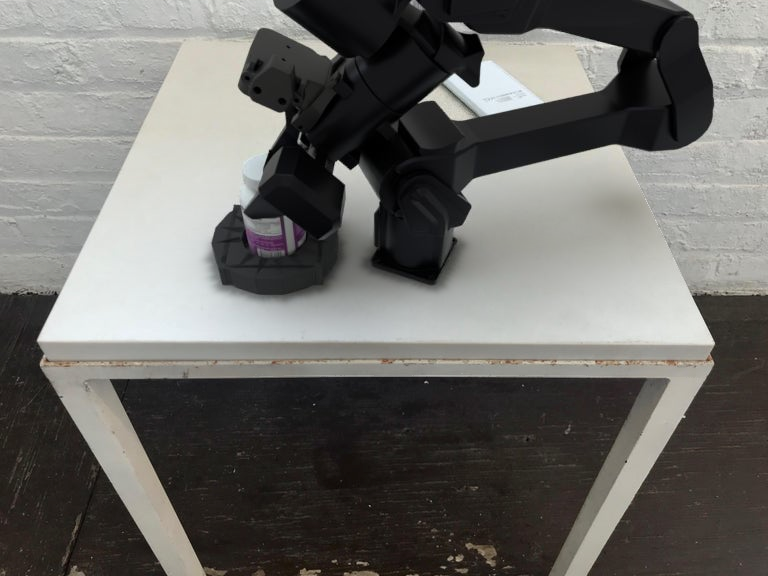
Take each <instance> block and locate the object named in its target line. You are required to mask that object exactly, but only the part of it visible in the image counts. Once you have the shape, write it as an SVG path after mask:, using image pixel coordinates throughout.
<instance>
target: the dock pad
mask: <svg viewBox="0 0 768 576" xmlns="http://www.w3.org/2000/svg"><path fill="white" fill-rule="evenodd" d="M338 230H339V229H338ZM338 230H336V231H335V232H334V233H332V234H331V235H330V236H328V237H327V238H326V239H324V240H317V239H315V238H314V237H313V236H311V235H310V234H309V233H307V232H306V243H305V244H304V245H303V247H302V248H300V249H299V250H297V251H296V252H294V253H292V254H290V255H286V256H283V257H262V256H258V255H255V254H253V253H251V252H250V249H248V248H247V246H249V243H248V239H247V234H246V229H245V224H244V219H243V215H242V209H241V205H240V204H233V207H232V210H231V211H229V212H228V213H227V214H226V215H225V216H224V217H223V219H222V220H221V221H219V223H218V224H217V225H216V226H215V228H214V232H213V235H212V239H211V243H210V244H211V247H212V252H213V256H214V260H215V263H216V266H217V270H218V273H219V278H220V281H221V285H232V286H234V287H235V288H237V289H241V290H243V291H247V292H250V293H253V294H256V295H285V294H289V293H293V292H296V291H300V290H304V289H306V288H309V287H311V286H312V285H314V286H315V285H317V286H319V285H320V286H321V285H322V286H323V284H324V283H323V282H324V277H326V276H327V275H328V274H329V272H330V271H331V269H332V268H333V266H334V265H335V263H336V261H337V260H338V254H339V253H338V251H339V233H338V232H339V231H338Z"/></svg>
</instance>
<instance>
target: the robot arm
mask: <svg viewBox="0 0 768 576" xmlns="http://www.w3.org/2000/svg"><path fill="white" fill-rule="evenodd" d="M411 1H412V0H272V3H273V6H274V7H275V8H276V9H277V10H279V11H280V12H281V13H282V14H284V15H285V16H287V18H289V19H290V20H292V21H293V22H295V23H296V24H298V25H299V26H300V27H302V28H303V29H304V30H305V31H307V32H308V33H309V34H311V35H312V36H314V37H315V38H316V39H318V40H319V41H320V42H322V43H323V44H325V45H326V46H327V47H328V48H330V49H331V50H333V51H334V52H335V53H337V54H336V55H335V56H333V57H332V58H331V59H330V58H329V57H328V56H327V55H323V54H320V53H317V51H315V50H314V49H313V48H311V47H309V46H307V45H305V44H303V43H301V42H299V41H297V40H295V39H293V38H291V37H288V36H286V35H285V34H282V33H280V32H278V31H276V30H274V29H271V28H268V27H260V28H259V29H258V30H257V32H256V34H255V36H254V38H253V40H252V43H251V45H250V47H249V50H248V53H247V55H246V58H245V61H244V64H243V67H242V71H241V73H240V76H239V79H238V82H237V88H238V90H239V91H240V92H241V93H242V95H245V96H247V97H248V98H249V99H250V100H251V102H253V103H255V104H257V105H260V106H262V107H264V108H266V109H269V110H271V111H274V112H276V113H278V114H282V113H284V117H285V124H284V126H283V128H282V130H281V131H280V133H279V134H278V136H277V137H276V139H275V141H274V142H273V144H272V145H271V147H270V148H269V149H268V152H267V153H268V155H267V158H266V161H265V164H264V167H263V174H262V177H261V180H260V183H259V186H258V191H257V192H256V194H255V195H254V196H253V198H252V199H251V200H250V202H249V203H248V205H247V206H246V207H245V209H244V212H243V213H244V214H245V215H246V216H248V217H249V218H250V219H252V220H256V219H264V218H271V217H279V216H286V217H287V218H289V219H290V220H291V221H293V222H294V223H295V224H297V225H298V226H299V227H301V228H302V229H303V230H305V231H306V232H307V233H309V234H310V235H311V236H313V237H314V238H315V239H317V240H324V239H326V238H327V237H328V236H330V235H331V234H332V233H334V232H335V231H336V230H339V229H341V228H342V223H343V219H344V218H343V217H344V213H345V206H346V199H347V198H346V197H347V195H346V191H347V190H346V184H345V183H344V182H343V181H341V179H339V178H338V177H337V176H335V174H334V171H335V166H336V163H337V162H338V161H339V162H340V164H342V165H343V166H344V167H345V168H347V169H348V170H349V171H351V172H352V170H353V169H354V168H356V167H357V166H358V168H359V169H360V171H361V172H362V173H363V175H364V177H365V178H366V180H367V182H368V184H369V185H370V187H371V188H372V191H373V192H374V194H375V195H376V197H377V198H378V200H379V202H378V207H377V208H376V209H375V211H374V212H373V246H374V248H377V249H376V250H375V252H374V253H373V254H372V256H371V258H370V264H371V265H372V266H373V267H375V268H379V269H382V270H385V271H388V272H392V273H394V274H398V275H400V276H404V277H408V278H410V279H414V280H416V281H420V282H423V283H426V284H429V285H435V284H436V283H437V282H438V281H439V279H440V277H441V275H442V273H443V272H444V269H445V267H446V266H447V264H448V261H449V260H450V258H451V256H452V254H453V252H454V250H455V249H456V247H457V245H458V239H457V238H456V237H454V230H455V228H457V227H461V226H463V225H464V223H465V222H466V219H467V218H468V216H469V213H470V211H471V210H472V207H473V206H472V204H471V202H470V201H469V200H468V199H467V197H466V195H465V194H464V193H463V192H462V191H463V190H464V189H465V188H466V187H467V186H468V185H469V184H470V183H472V181H473V180H476V179H478V178H482V177H486V176H489V175H494V174H497V173H501V172H506V171H511V170H514V169H518V168H522V167H527V166H530V165H536V164H539V163H544V162H548V161H552V160H556V159H559V158H564V157H569V156H573V155H577V154H580V153H585V152H589V151H592V150H597V149H601V148H606V147H610V146H621V147H626V148H630V149H635V150H640V151H642V152H643V151H644V152H649V153H653V152H667V151H668V152H669V151H677V150H681V149H683V148H685V147H688V146H689V145H691V144H693V143H695V142H697V141H698V140H700V138H702V137H703V136H704V135H705V133H707V131H708V130H709V128H710V127H711V125H712V123H713V118H714V108H715V98H714V81H713V78H712V76H711V73H710V70H709V68H708V65H707V62H706V60H705V58H704V55H703V52H702V49H701V47H700V27H699V23H698V21H697V20H696V18H695V16H694V14H693V13H692V12H690V11H689V10H687V9H685V8H684V7H682V6H680V5H678V4H677V3H675V2H673V1H672V0H416V1H417V2H418V3H419V4H420V5H421V6H422V7H423V8H424V9H425V10H420V9H418V8H416V7H415V6H413V5H412V4H410V2H411ZM450 23H452V24H453V23H454V24H463V25H464V26H465V27H466V28H468V29H469V30H471V31H472V32H474V33H464V32H462V31H458V30H456V29H455V27H453V26H452V25H451V24H450ZM534 30H551V31H556V32H559V33H564V34H568V35H572V36H575V37H579V38H582V39H583V38H584V39H588V40H591V41H596V42H598V43H603V44H607V45H612V46H615V47H617V48H622V50H621V52H620V54H619V56H618V59H617V61H616V68H617V73H616V74H615V75H614V76H613V78H612V79H611V80H610V81H609V82H608V83H607V84H606V85H605V86H604V88H603V89H600V90H597V91H593V92H588V93H584V94H579V95H575V96H569V97H564V98H560V99H556V100H551V101H547V102H545V103H541V104H537V105H532V106H528V107H523V108H518V109H514V110H509V111H504V112H500V113H495V114H491V115H486V116H481V117H479V116H477V117H472V118H469V119H468V118H467V119H462V120H457V119H451V118H450V116H449V115H448V114H447V113H446V112H445V111H444V110H443V108H442V107H441V106H440V105H439V104H438V102H437V101H436V100H424V99H425V98H426V97H428V96H429V95H431V93H433V92H434V91H435V90H436V89H437V88H439V87H440V86H441V85H443V82H445V81H446V80H447V79H448V78H449V77H451V76H452V75H453V74H456V75H457V76H459V77H460V78H461V79H462V80H463V81H464V82H466V83H467V84H468V85H469V86H470V87H472V88H476V87H478V86H479V84H480V69H481V62H483V59H484V57H485V54H486V52H485V49H484V46H483V43H482V41H481V38H480V35H497V36H499V35H500V36H501V35H503V36H504V35H506V36H508V35H509V36H522V35H525V34H526V33H529V32H531V31H534ZM423 100H424V101H423Z"/></svg>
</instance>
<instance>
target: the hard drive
mask: <svg viewBox="0 0 768 576" xmlns="http://www.w3.org/2000/svg"><path fill="white" fill-rule="evenodd" d="M442 85H443V86H445V87H446V88H447V89H448V90H449V91H450V92H452V94H454V95H455V96H456V97H457V98H458V99H459V100H460V101H461V102H463V103H464V104H465V105H466V106H467V107H468V108H469V109H470V110H471V111H473V112H474V114H476V115H477V117H481V116H486V115H491V114H495V113H500V112H504V111H509V110H514V109H518V108H523V107H528V106H532V105H537V104H541V103H546V102H545V101H544V100H543V99H541V98H540V97H539V96H537V95H536V94H535V93H533V92H532V91H531V90H530V89H528V88H527V87H526V86H525V85H523V84H522V83H521V82H520V81H518V80H517V78H514V77H513V76H512V75H511V74H510V73H509V72H507V71H506V70H504V68H502V67H501V66H499V65H498V64H497V63H496V62H494V60H485V61H482V62H481V69H480V84H479V86H478V87H476V88H472V87H470V86H469V85H468V84H467V83H466V82H464V81H463V80H462V79H461V78H460V77H459V76H457V75H456V74H453V75H452V76H451V77H449V78H448V79H447V80H446V81H445V82H443V83H442Z"/></svg>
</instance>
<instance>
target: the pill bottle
mask: <svg viewBox="0 0 768 576" xmlns="http://www.w3.org/2000/svg"><path fill="white" fill-rule="evenodd" d="M267 155H268V152H264V153H258V154H255V155H253V156H251V157H249V158H248V159H246V160H245V161H244V162H243V164H242V166H241V173H242V181H243V184H242V185H241V187H240V189H239V194H238V197H239V199H238V200H239V205H241V209H242V215H243V219H244V224H245V229H246V234H247V239H248V243H249V244H248V248H249V251H250V252H251V253H253V254H255V255H258V256H262V257H283V256H286V255H290V254H292V253H294V252H296V251H297V250H299V249H300V248H302V247H303V245H304V244H305V243H306V241H307V240H306V231H305V230H303V229H302V228H301V227H299V226H298V225H297V224H295V223H294V222H293V221H291V220H290V219H289V218H287V217H286V216H279V217H271V218H264V219H256V220H252V219H250V218H249V217H248V216H246V215H245V214H244V213H243V212H244V209H245V207H246V206H247V205H248V203H249V202H250V200H251V199H252V198H253V196H254V195H255V194H256V192H257V191H258V186H259V183H260V180H261V177H262V174H263V167H264V164H265V161H266V158H267Z"/></svg>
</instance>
